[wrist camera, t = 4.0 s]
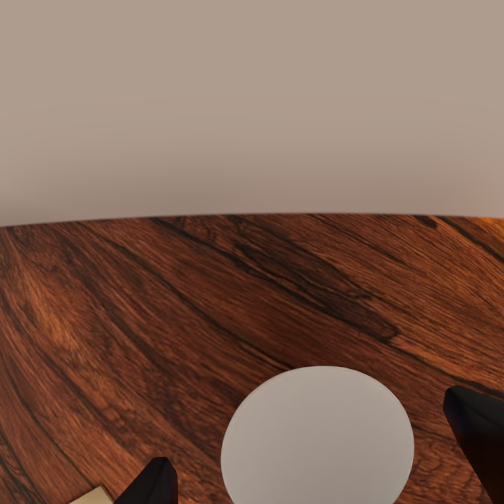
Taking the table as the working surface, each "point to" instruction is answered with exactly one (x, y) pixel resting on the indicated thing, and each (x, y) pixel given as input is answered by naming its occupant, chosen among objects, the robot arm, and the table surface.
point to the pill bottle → (318, 441)
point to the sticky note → (95, 497)
